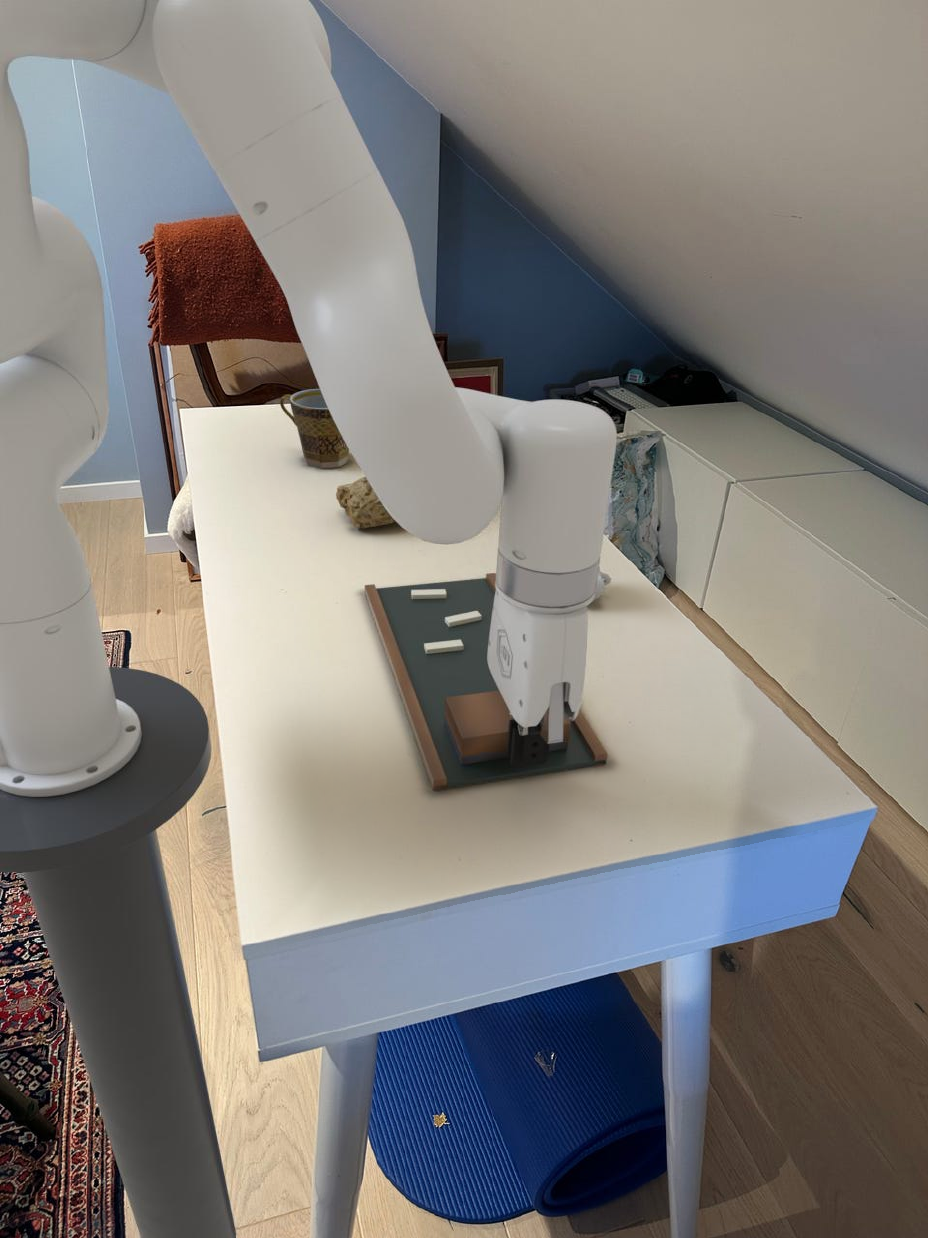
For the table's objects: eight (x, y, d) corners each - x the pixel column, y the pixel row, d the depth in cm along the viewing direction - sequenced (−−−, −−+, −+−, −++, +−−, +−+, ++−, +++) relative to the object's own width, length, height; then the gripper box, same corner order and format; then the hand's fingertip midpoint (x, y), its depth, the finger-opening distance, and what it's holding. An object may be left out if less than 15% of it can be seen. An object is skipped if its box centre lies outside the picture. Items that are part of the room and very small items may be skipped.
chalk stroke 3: (449, 627, 94) (449, 622, 94) (444, 621, 95) (444, 617, 95) (481, 620, 96) (481, 615, 96) (476, 615, 97) (477, 610, 97)
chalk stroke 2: (426, 654, 90) (426, 649, 89) (423, 648, 91) (424, 643, 90) (463, 650, 91) (463, 645, 90) (460, 643, 92) (460, 639, 91)
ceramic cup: (369, 457, 138) (369, 395, 132) (335, 477, 130) (332, 413, 125) (302, 441, 142) (298, 381, 137) (264, 460, 134) (259, 397, 129)
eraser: (461, 765, 75) (462, 738, 74) (444, 723, 80) (445, 697, 79) (567, 749, 78) (571, 723, 76) (545, 709, 83) (547, 684, 81)
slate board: (433, 791, 73) (433, 780, 73) (364, 593, 101) (364, 584, 100) (606, 764, 77) (608, 753, 77) (494, 581, 105) (495, 572, 104)
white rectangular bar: (412, 599, 99) (412, 594, 99) (411, 594, 100) (411, 589, 100) (446, 598, 100) (446, 594, 99) (445, 593, 101) (445, 588, 100)
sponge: (364, 549, 113) (497, 499, 118) (347, 494, 110) (486, 445, 115) (336, 525, 124) (460, 481, 130) (320, 474, 121) (448, 430, 126)
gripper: (471, 531, 69) (461, 712, 79) (531, 630, 57) (511, 830, 67) (558, 524, 71) (539, 702, 81) (635, 618, 59) (601, 814, 68)
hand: (526, 759), depth 74 cm, fingers closed
